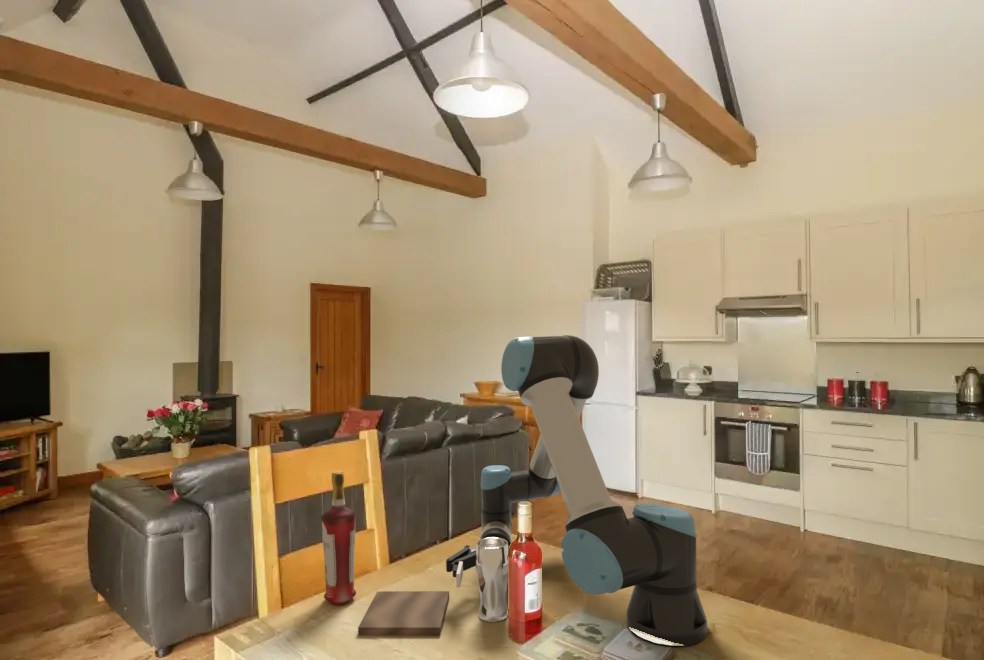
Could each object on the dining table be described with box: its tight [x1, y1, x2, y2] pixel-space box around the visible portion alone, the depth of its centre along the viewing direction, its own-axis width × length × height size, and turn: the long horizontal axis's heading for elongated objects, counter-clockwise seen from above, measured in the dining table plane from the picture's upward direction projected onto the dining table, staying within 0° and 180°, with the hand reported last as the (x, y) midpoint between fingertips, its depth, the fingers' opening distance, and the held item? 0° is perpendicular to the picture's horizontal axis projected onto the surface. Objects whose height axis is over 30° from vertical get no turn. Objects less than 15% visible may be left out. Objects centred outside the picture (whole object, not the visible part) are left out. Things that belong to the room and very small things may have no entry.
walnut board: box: [357, 590, 450, 636], centre depth 122 cm, size 16×16×2 cm
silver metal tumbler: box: [475, 537, 509, 623], centre depth 122 cm, size 7×7×15 cm
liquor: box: [321, 471, 357, 606], centre depth 130 cm, size 7×7×28 cm
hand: (492, 580), depth 119 cm, fingers open, 13 cm apart
